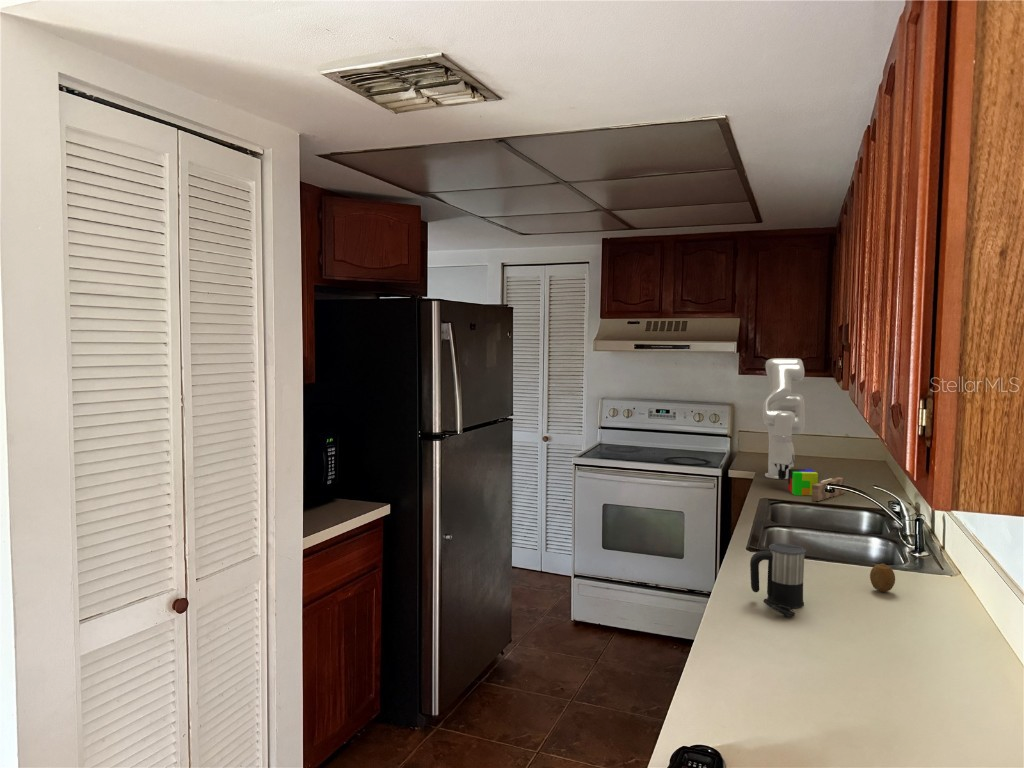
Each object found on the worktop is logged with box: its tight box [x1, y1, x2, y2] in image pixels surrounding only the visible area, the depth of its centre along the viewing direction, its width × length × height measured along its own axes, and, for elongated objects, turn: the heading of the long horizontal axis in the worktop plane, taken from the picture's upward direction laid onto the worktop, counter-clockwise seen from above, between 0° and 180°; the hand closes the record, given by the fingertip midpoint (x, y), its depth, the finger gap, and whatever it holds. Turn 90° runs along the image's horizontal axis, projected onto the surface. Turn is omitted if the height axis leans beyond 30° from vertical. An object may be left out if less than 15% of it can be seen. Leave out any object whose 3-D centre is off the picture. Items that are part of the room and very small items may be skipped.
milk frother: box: [749, 542, 807, 618], centre depth 185 cm, size 14×16×15 cm
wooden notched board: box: [811, 476, 845, 502], centre depth 314 cm, size 26×2×8 cm, turn 132°
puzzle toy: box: [787, 468, 819, 496], centre depth 322 cm, size 10×10×10 cm
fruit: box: [869, 563, 896, 593], centre depth 197 cm, size 6×6×8 cm
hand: (781, 478), depth 329 cm, fingers closed
